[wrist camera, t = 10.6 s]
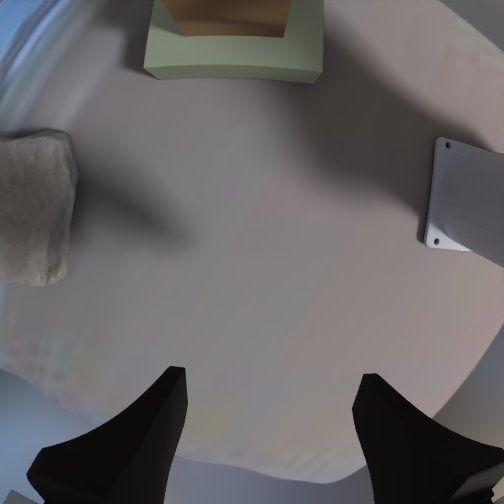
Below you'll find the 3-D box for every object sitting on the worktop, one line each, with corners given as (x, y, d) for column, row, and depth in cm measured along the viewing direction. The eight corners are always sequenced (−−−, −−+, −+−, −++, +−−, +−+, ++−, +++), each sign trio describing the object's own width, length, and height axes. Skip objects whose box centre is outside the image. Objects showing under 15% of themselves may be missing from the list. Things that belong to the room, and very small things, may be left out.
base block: (315, -31, 15) (321, -53, 12) (313, 84, 18) (322, 72, 15) (176, -34, 15) (167, -54, 12) (158, 79, 18) (143, 68, 15)
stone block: (91, 125, 20) (-6, 139, 18) (69, 121, 16) (-38, 141, 14) (97, 270, 24) (5, 269, 22) (80, 296, 20) (-20, 291, 18)
